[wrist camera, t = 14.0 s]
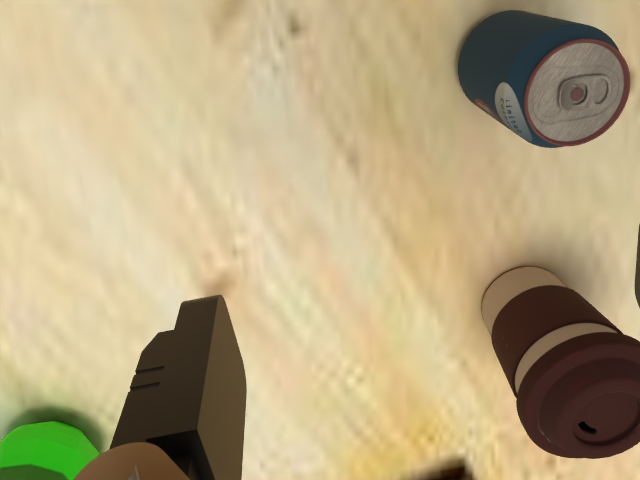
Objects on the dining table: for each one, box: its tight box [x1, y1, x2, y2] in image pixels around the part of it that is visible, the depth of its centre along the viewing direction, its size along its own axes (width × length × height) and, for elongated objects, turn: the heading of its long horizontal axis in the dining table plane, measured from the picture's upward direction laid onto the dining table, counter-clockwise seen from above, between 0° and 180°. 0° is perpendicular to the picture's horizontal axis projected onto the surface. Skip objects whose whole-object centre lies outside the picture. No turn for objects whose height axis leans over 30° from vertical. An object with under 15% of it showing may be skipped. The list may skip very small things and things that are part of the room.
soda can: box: [458, 11, 630, 148], centre depth 37 cm, size 7×7×12 cm
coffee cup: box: [482, 267, 640, 459], centre depth 45 cm, size 10×10×15 cm
